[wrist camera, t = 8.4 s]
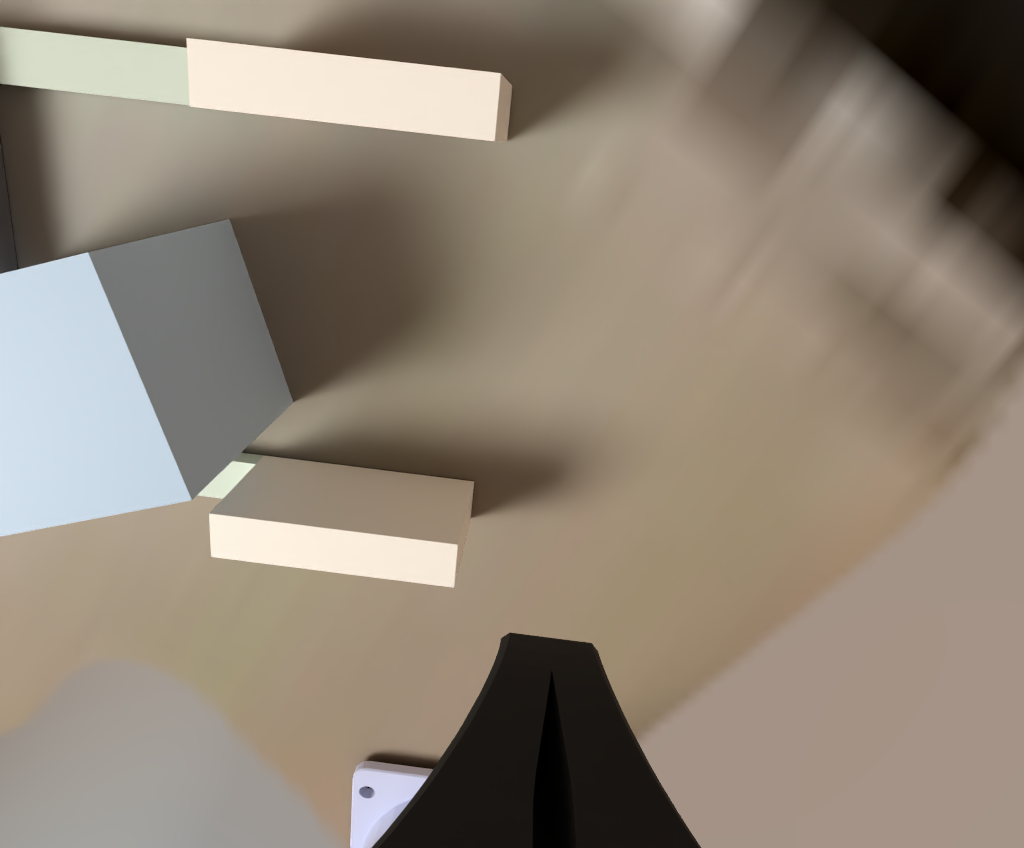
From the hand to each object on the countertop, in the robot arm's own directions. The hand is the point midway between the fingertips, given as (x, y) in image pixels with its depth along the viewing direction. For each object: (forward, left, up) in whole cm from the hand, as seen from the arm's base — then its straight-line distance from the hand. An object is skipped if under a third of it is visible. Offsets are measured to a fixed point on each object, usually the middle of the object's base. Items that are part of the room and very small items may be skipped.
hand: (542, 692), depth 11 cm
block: (+2, +10, -10) cm, 14 cm away
